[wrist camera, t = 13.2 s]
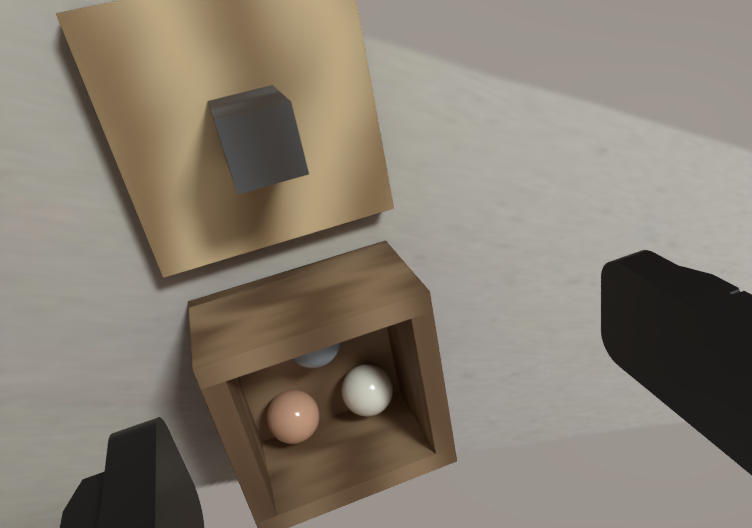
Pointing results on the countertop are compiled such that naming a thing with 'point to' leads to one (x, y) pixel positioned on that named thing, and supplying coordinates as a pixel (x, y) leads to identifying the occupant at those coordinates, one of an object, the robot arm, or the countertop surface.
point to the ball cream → (367, 390)
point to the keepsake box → (323, 381)
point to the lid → (233, 119)
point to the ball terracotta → (293, 416)
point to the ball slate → (318, 357)
